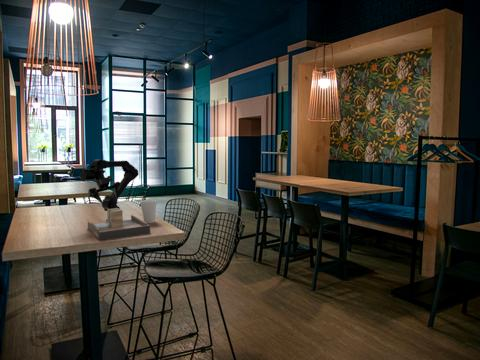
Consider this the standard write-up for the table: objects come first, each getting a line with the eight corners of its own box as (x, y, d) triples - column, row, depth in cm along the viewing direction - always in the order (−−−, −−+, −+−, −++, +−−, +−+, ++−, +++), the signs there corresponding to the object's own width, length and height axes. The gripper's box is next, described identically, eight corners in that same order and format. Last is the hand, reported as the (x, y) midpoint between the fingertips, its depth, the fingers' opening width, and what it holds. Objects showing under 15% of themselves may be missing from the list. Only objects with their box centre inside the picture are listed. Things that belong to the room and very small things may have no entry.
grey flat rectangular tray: (88, 228, 226) (87, 220, 226) (133, 222, 240) (132, 215, 239) (100, 240, 198) (99, 231, 198) (150, 232, 211) (149, 224, 211)
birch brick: (108, 224, 226) (107, 209, 225) (118, 223, 229) (117, 207, 228) (112, 227, 218) (111, 211, 217) (123, 226, 221) (122, 210, 220)
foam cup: (140, 221, 244) (139, 200, 242) (155, 219, 247) (154, 199, 246) (142, 224, 235) (141, 202, 233) (158, 222, 238) (157, 201, 237)
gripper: (85, 176, 226) (95, 198, 221) (117, 168, 236) (127, 190, 231) (84, 185, 234) (93, 208, 229) (114, 178, 245) (124, 199, 240)
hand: (109, 201), depth 232 cm, fingers open, 9 cm apart
